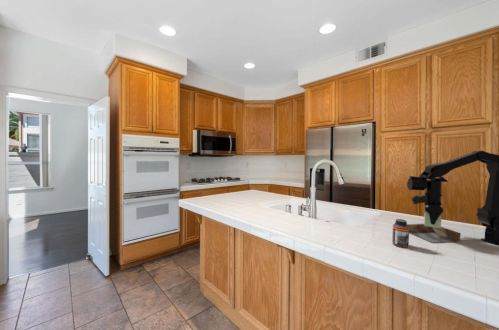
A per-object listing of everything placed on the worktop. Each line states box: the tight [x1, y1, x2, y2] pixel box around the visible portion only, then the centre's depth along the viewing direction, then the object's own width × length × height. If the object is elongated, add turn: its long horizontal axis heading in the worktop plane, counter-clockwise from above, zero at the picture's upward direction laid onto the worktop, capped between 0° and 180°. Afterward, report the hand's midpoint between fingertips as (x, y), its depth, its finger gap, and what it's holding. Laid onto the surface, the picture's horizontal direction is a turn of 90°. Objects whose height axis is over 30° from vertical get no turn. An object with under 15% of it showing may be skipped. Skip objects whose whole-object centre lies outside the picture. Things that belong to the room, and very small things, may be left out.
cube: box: [423, 210, 442, 228], centre depth 106 cm, size 6×6×6 cm
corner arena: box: [406, 223, 462, 244], centre depth 107 cm, size 14×14×4 cm
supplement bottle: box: [392, 218, 410, 248], centre depth 96 cm, size 6×6×11 cm
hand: (432, 222), depth 106 cm, fingers closed on cube, 6 cm apart
